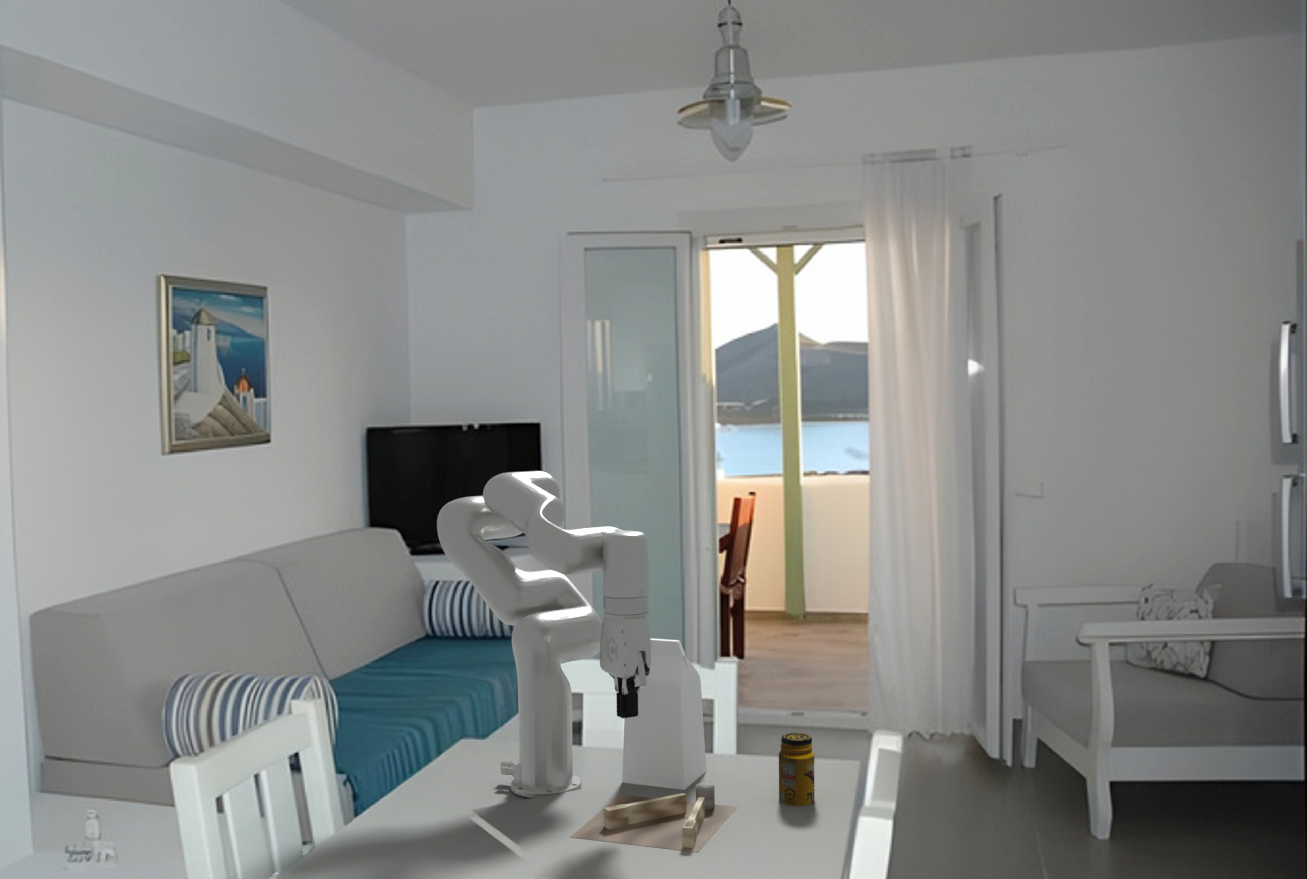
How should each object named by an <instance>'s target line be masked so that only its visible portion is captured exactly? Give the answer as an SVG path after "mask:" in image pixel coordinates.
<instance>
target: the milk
mask: <svg viewBox="0 0 1307 879" xmlns="http://www.w3.org/2000/svg"><path fill="white" fill-rule="evenodd" d="M650 640H651V672H650V674H649V675H648V676H646V685H645V686H640V691H639V693H638V716H636V717H630V718H624V722H623V723H624V725H623V727H624V728H623V752H622V753H623V754H622V755H623V756H622V773H621V774H622V775H621V777H622V778H621V779H622V780H621V783H624V784H630V785H638V786H639V785H640V786H650V787H657V788H664V789H665V788H666V789H674V790H684V791H685V790H686V789H687V788H689V787H690V786H692V784H693V783H695V782H696V781H697V780H698V779H699V778H701V777H702V776H703V775H704V774H705V773H706V772H707V758H706V746H705V744H706V743H705V742H706V741H705V728H704V726H705V725H704V715H703V712H704V711H703V709H704V708H703V697H702V696H703V694H702V682H701V677H700V674H699V671H697V669H696V668H695V666H694V664H692V662H691V661H690V659H689V658H688V656H686V652H685V650H684V647H683V645H682V642H681V640H680V639H679V640H678V639H667V638H665V639H664V638H651V637H650ZM634 674H635V673H634Z"/></svg>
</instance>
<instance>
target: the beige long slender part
mask: <svg viewBox="0 0 1307 879" xmlns="http://www.w3.org/2000/svg"><path fill="white" fill-rule="evenodd" d="M715 788H716V786H715V785H714V784H712V783H706V782H704V783H703V782H702V783H698V784H696V785H695V802H696V804H695V806H694V808H693V810H692V812H691V814H690V817H689V819H688V820H686V821H685V823H684V825H683V827H682V847H688V848H693V846H694V844H695V841H696V835H697V832H698V830H699V828H700V825H701V823H702V821H703V818H704V816H705V811H708V810H713V809H714V808H715V805H716V804H715V800H716V799H715V792H716V790H715Z"/></svg>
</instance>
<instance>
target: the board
mask: <svg viewBox="0 0 1307 879" xmlns="http://www.w3.org/2000/svg"><path fill="white" fill-rule="evenodd" d="M655 798H656V797H655ZM655 798H654V797H646V796H637V795H628V794H619V795H618V796H617V797H615V798H614V799H613V800H612V801H611V802H609V803H608V804H607V805H606V806H605V807H604V808H607V807H612V806H617V805H622V804H624V805H625V804H630V803H635V802H640V801H645V800H650V799H655ZM695 804H696V801H694V802H693V801H687V800H686V812H687V813H682V814H677V815H672V816H668V817H663V818H658V819H653V820H648V821H644V822H639V823H634V824H629V825H628V826H623V827H618V828H613V829H607V828H605V827H604V808H603V809H601V810H600V811H599V812H598V813H597V814H595V815H594V816H593V817H592V818H590V819H589V820H588V821H587V822H585V824H583V825H582V826H581V827H579V829H578V830H576V831H575V832H574V833H572V835H570V836H569V838H571V839H581V840H589V841H596V842H597V841H598V842H607V843H615V844H620V845H621V844H622V845H630V846H640V847H647V848H657V849H665V850H672V851H673V850H674V851H681V852H690V853H697V854H698V853H699V851H701V850H702V848H703V847H704V846H705V845H706V844H707V842H709V840H710V839H711V838H712V837H713V835H714V834H716V832H717V831H718V830H719V829H720V827H722V826H723V825H724V823H725V822H726V821H727V819H728V818H730V816H731V815H732V814H733V813H734V812H735V810H736V809H737V808H738V806H735V805H734V806H731V805H725V804H715V808H714V809H713V810H708V811H705V816H704V818H703V821H702V823H701V825H700V828H699V830H698V832H697V835H696V841H695V844H694V846H693V848H688V847H682V827H683V825H684V823H685V821H686V820H688V819H689V817H690V814H691V812H692V810H693V808H694V806H695Z"/></svg>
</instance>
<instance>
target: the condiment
mask: <svg viewBox="0 0 1307 879" xmlns="http://www.w3.org/2000/svg"><path fill="white" fill-rule="evenodd" d="M780 742H781V743H780V750H779V753H778V802H780V803H781V804H784V805H787V806H794V807H795V806H796V807H797V806H799V807H800V806H809V805H812V804H813V803H814V802H815V753H814V751H813V743H812V742H813V738H812V736H810V735H808V734H806V733H801V732H788V733H785V734H782V736H781V738H780Z"/></svg>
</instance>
